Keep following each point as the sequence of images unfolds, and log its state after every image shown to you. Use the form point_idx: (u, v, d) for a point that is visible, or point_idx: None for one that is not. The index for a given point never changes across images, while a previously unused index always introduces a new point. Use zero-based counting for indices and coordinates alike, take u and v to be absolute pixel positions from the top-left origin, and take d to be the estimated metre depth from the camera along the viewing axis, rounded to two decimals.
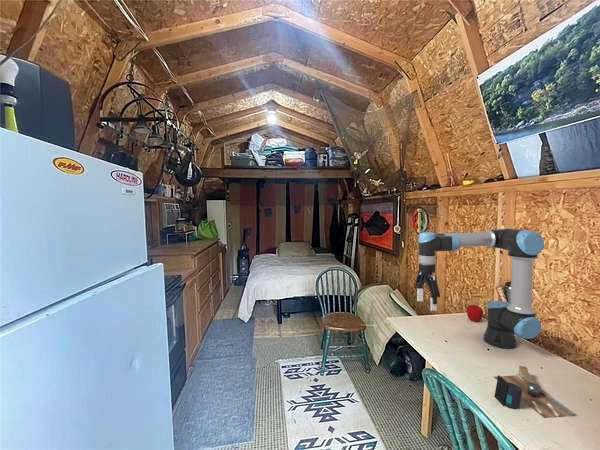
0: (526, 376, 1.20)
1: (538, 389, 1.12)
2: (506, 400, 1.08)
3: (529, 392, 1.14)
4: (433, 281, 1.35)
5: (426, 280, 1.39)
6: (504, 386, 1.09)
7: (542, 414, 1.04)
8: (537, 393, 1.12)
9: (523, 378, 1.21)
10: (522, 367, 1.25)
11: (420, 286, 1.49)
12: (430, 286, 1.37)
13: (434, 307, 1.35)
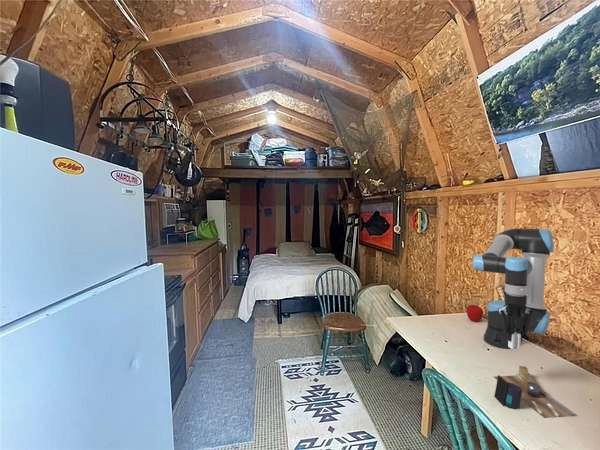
0: (526, 376, 1.20)
1: (538, 389, 1.12)
2: (506, 400, 1.08)
3: (529, 392, 1.14)
4: None
5: (522, 315, 1.19)
6: (504, 386, 1.09)
7: (542, 414, 1.04)
8: (537, 393, 1.12)
9: (523, 378, 1.21)
10: (522, 367, 1.25)
11: None
12: None
13: None
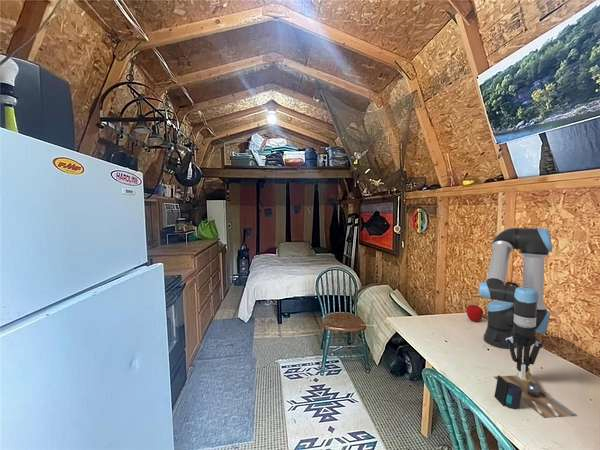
0: (528, 376, 1.20)
1: (538, 389, 1.12)
2: (506, 400, 1.08)
3: (529, 392, 1.14)
4: None
5: None
6: (504, 386, 1.09)
7: (542, 414, 1.04)
8: (537, 393, 1.12)
9: None
10: None
11: None
12: None
13: None
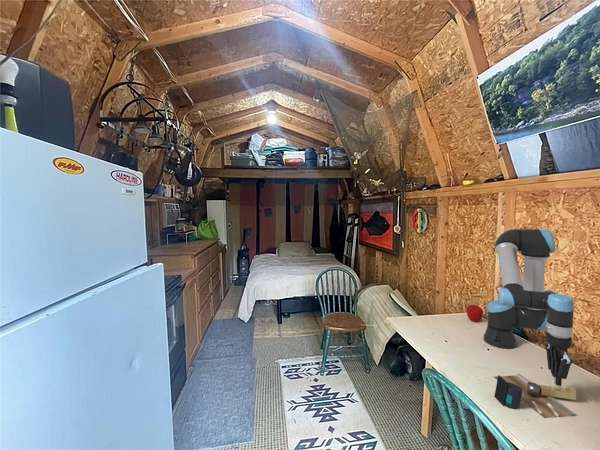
0: (554, 388, 1.12)
1: (529, 387, 1.14)
2: (506, 400, 1.08)
3: None
4: (565, 364, 1.07)
5: (555, 357, 1.11)
6: (504, 386, 1.09)
7: (542, 414, 1.04)
8: (528, 390, 1.14)
9: None
10: (570, 387, 1.11)
11: None
12: (557, 365, 1.11)
13: None
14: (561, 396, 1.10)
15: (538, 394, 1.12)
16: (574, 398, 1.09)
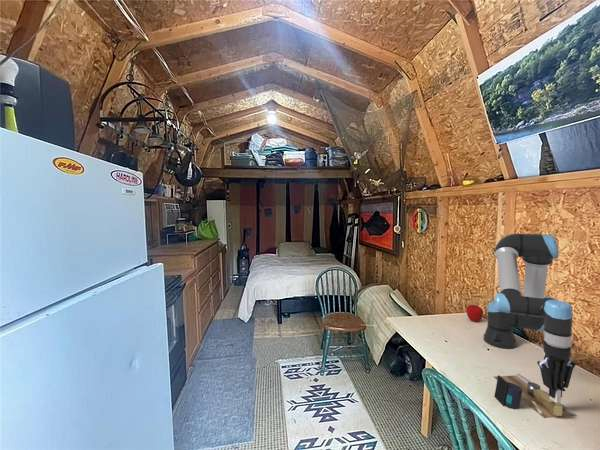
0: (546, 396, 1.07)
1: None
2: (506, 400, 1.08)
3: None
4: (541, 368, 1.05)
5: None
6: (504, 386, 1.09)
7: (542, 414, 1.04)
8: None
9: None
10: (557, 403, 1.02)
11: (557, 383, 1.05)
12: None
13: None
14: (545, 405, 1.06)
15: (530, 392, 1.14)
16: (553, 413, 1.02)
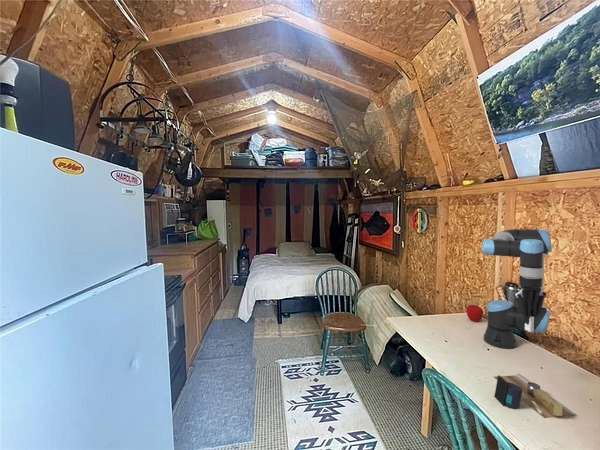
0: (546, 396, 1.07)
1: None
2: (506, 400, 1.08)
3: None
4: (517, 298, 1.20)
5: None
6: (504, 386, 1.09)
7: (542, 414, 1.04)
8: None
9: None
10: (557, 403, 1.02)
11: (531, 311, 1.21)
12: None
13: (528, 328, 1.21)
14: (545, 405, 1.06)
15: (530, 392, 1.14)
16: (553, 413, 1.02)
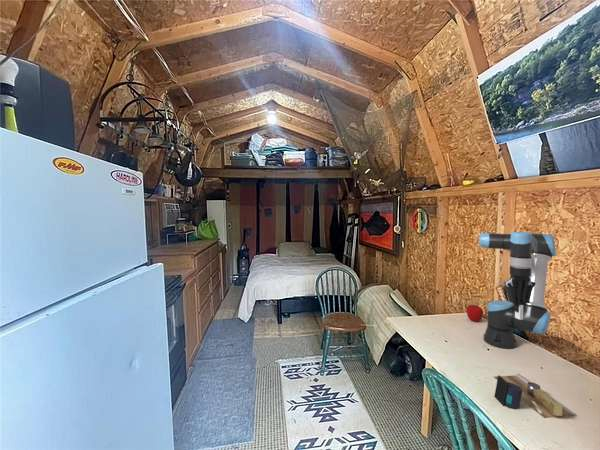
0: (546, 396, 1.07)
1: None
2: (506, 400, 1.08)
3: None
4: (507, 287, 1.27)
5: (513, 284, 1.29)
6: (504, 386, 1.09)
7: (542, 414, 1.04)
8: None
9: None
10: (557, 403, 1.02)
11: (520, 299, 1.28)
12: None
13: (517, 316, 1.28)
14: (545, 405, 1.06)
15: (530, 392, 1.14)
16: (553, 413, 1.02)
